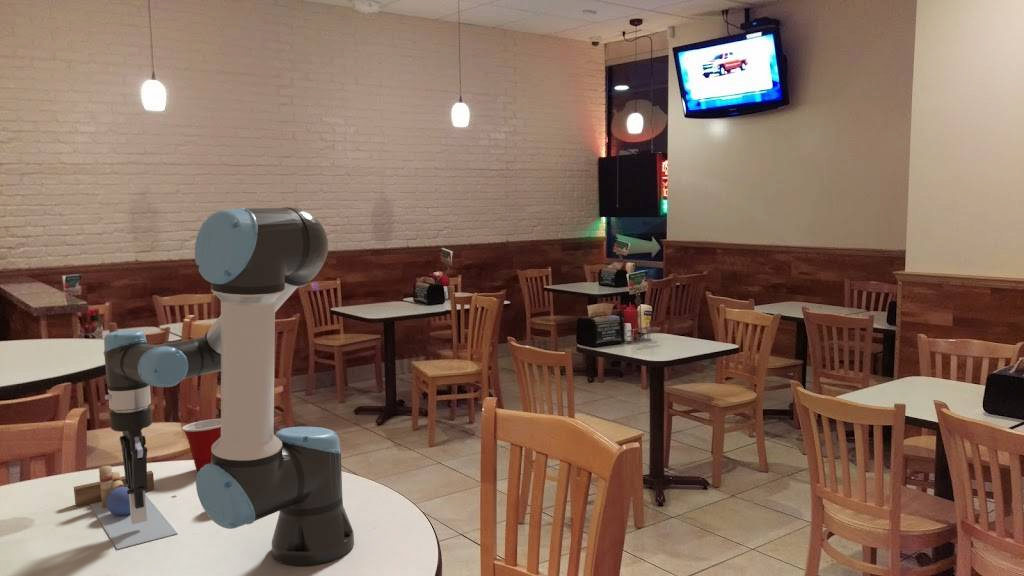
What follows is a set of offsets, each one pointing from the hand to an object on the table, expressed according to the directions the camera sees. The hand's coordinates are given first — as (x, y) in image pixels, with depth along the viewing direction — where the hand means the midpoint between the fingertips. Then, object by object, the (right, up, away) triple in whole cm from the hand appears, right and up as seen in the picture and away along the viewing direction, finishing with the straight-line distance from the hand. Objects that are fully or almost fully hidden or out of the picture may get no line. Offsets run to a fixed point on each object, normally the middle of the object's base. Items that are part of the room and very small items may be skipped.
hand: (139, 521), depth 159 cm
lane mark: (-5, -1, +6) cm, 8 cm away
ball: (-8, +2, +8) cm, 11 cm away
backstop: (-15, 0, +19) cm, 24 cm away
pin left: (-13, -1, +13) cm, 19 cm away
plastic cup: (0, +2, +36) cm, 36 cm away
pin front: (-9, 0, +12) cm, 15 cm away
